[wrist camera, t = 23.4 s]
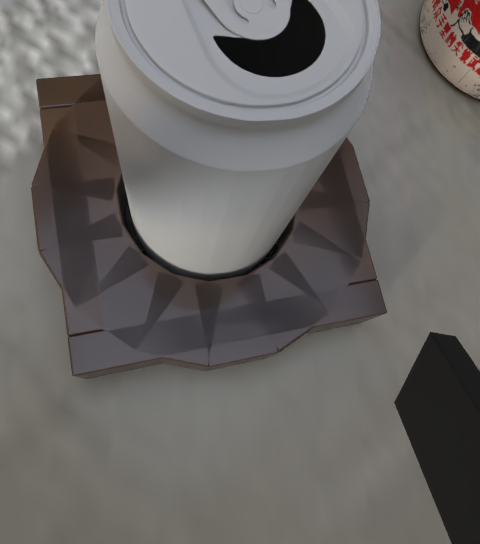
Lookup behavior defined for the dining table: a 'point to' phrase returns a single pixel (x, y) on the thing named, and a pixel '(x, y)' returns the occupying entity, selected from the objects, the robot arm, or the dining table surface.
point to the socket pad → (176, 288)
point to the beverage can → (229, 117)
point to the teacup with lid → (454, 41)
